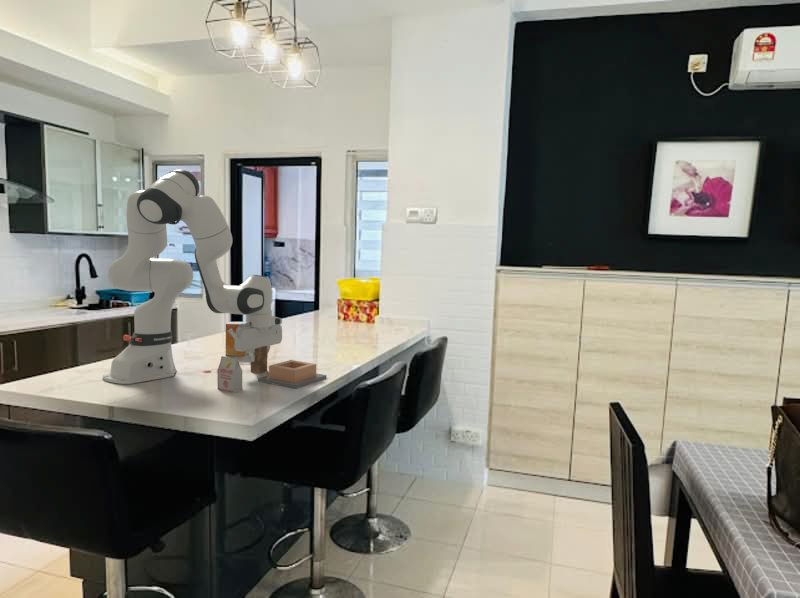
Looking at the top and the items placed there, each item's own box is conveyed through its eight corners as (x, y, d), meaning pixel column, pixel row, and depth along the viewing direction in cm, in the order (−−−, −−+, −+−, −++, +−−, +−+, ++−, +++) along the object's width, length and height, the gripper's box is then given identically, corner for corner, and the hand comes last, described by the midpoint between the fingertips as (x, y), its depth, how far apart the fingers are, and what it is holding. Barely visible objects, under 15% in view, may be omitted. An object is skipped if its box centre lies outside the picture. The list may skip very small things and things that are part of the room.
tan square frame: (295, 388, 164) (296, 372, 163) (257, 381, 171) (257, 366, 171) (326, 378, 178) (326, 363, 177) (290, 371, 186) (290, 357, 185)
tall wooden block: (259, 373, 182) (259, 347, 181) (250, 371, 184) (250, 346, 183) (267, 371, 185) (267, 346, 184) (258, 369, 187) (258, 344, 186)
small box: (225, 356, 208) (225, 323, 206) (228, 352, 214) (228, 321, 213) (246, 356, 209) (246, 323, 207) (248, 352, 215) (248, 321, 214)
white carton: (226, 386, 164) (226, 355, 163) (242, 389, 161) (242, 358, 160) (217, 389, 161) (217, 357, 160) (233, 392, 158) (233, 360, 157)
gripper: (243, 325, 172) (243, 366, 173) (285, 318, 190) (285, 356, 191) (229, 323, 175) (230, 364, 176) (272, 317, 193) (271, 354, 194)
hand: (259, 359), depth 184 cm, fingers closed on tall wooden block, 4 cm apart
